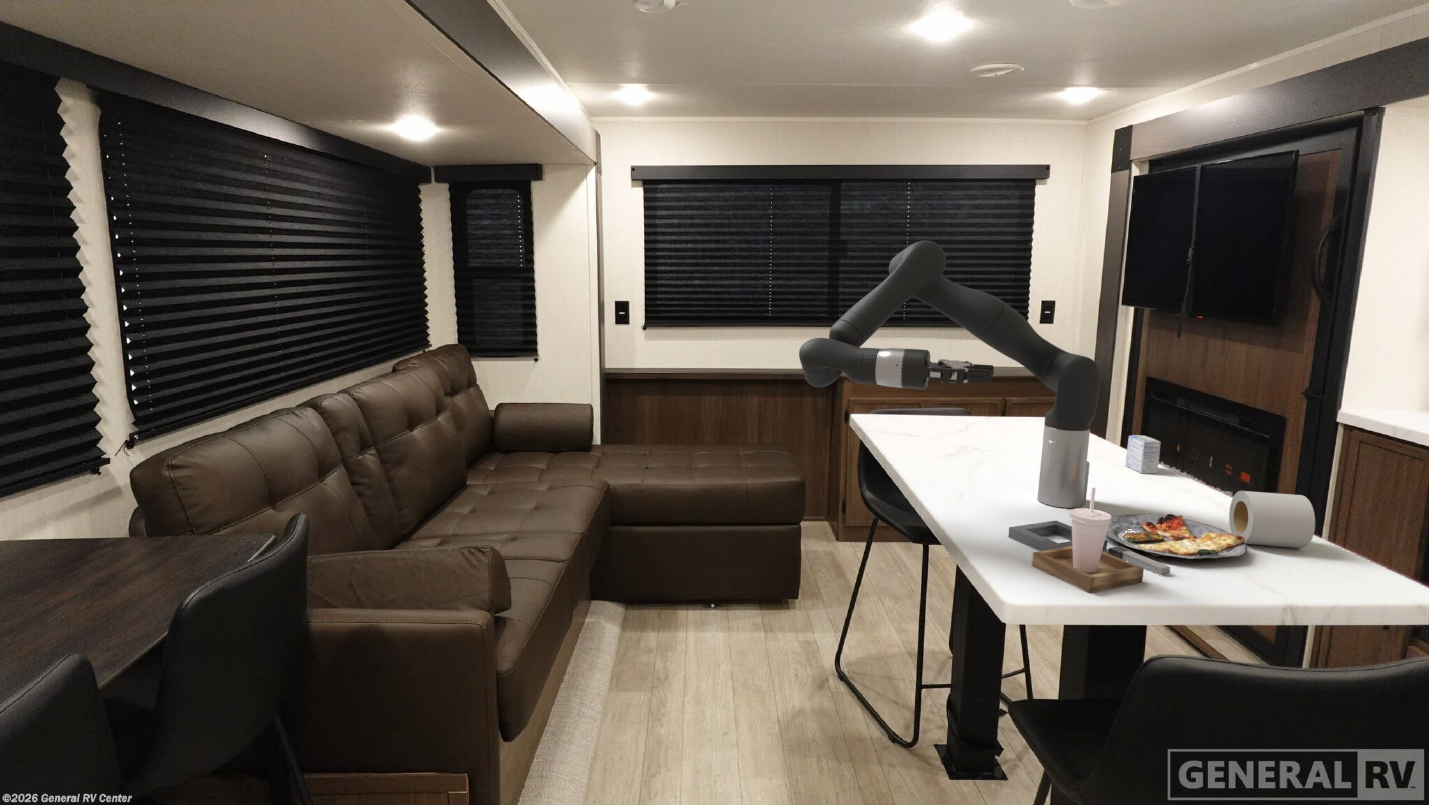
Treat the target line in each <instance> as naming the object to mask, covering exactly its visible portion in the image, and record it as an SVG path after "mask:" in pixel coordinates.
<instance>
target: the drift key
mask: <svg viewBox="0 0 1429 805" xmlns="http://www.w3.org/2000/svg"><path fill="white" fill-rule="evenodd" d="M1107 554H1110V555H1112V556H1115V557H1117V558H1120V559H1122V560H1125V561H1128V562H1130V563H1132V564H1135V565H1137V566H1140V567H1142V568H1144V570H1145V569H1146V571H1148V572H1150V571H1151V572H1150V573H1153V574H1155V573H1156V574H1155V575H1157V574H1159V575H1158V576H1160V575H1164V576H1168V575H1167V574H1169V575H1170V571H1171V566H1169V565H1167V564H1164V563H1161V562H1159V561H1156V560H1154V559H1151V558H1149V557H1148V556H1147V557H1146V556H1144V555H1141V554H1139V553H1137V552H1135V551H1132V549H1129V548H1126V547H1124V546H1121V545H1120V546H1119V545H1118V546H1112V547H1108V553H1107Z"/></svg>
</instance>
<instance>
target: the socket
mask: <svg viewBox="0 0 1429 805" xmlns="http://www.w3.org/2000/svg"><path fill="white" fill-rule="evenodd" d="M1053 535H1054V536H1055V535H1056V536H1059V537H1061V538H1064V539H1066V540H1068V541H1062V542H1056V541H1054V540H1052V539H1049V538H1046V536H1047V537H1049V536H1053ZM1007 537H1008V538H1010V539H1012V540H1014V541H1016V542H1019V543H1021V544H1023V545H1025V546H1027V547H1030V548H1031V549H1032V548H1033V549H1034V550H1037V551H1044V550H1051V549H1057V548H1063V547H1069V546H1072V525H1068V524H1066V523H1064V522H1061V521H1058V520H1051V521H1049V520H1048V521H1043V522H1042V521H1041V522H1036V523H1029V524H1028V523H1027V524H1023V525H1015V526H1009V527H1008V536H1007ZM1107 547H1108V539H1105V541H1104V545H1103V549H1102V551H1103V552H1106V551H1107Z"/></svg>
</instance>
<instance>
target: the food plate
mask: <svg viewBox="0 0 1429 805" xmlns="http://www.w3.org/2000/svg"><path fill="white" fill-rule="evenodd" d="M1110 515H1111V514H1110ZM1111 517H1112V518H1111V524H1109V525H1108V530H1107V534H1106V537H1108V538H1111V539H1112V541H1116V542H1118V543H1120V544H1123V545H1124V546H1127V547H1129V548H1132V549H1136V550H1139V551H1141V552H1144V553H1146V554H1150V555H1152V556H1153V557H1160V556H1163V557H1167V556H1169V557H1170V556H1171V557H1174V558H1181V559H1191V560H1194V559H1197V560H1200V559H1218V558H1219V559H1220V558H1228V557H1240V556H1245V555H1246V554H1247V553H1248V550H1247V549H1248V544H1245V543H1244V541H1245V539H1244V537H1242V536H1237V535H1233V534H1232V533H1231V532H1228V531H1227V530H1224V529H1222V528H1221V527H1217V526H1214V525H1211V524H1207V523H1202V522H1200V521H1195V520H1191V519H1188V518H1183V517H1184V516H1183V515H1182V514H1179V515H1175V514H1173V513H1167V514H1166V515H1153V514H1146V513H1135V514H1133V513H1131V514H1130V513H1128V514H1119V515H1117V514H1116V515H1115V514H1113V515H1111ZM1128 529H1132V530H1128ZM1125 531H1127V533H1126V532H1125ZM1128 531H1135V532H1129V533H1128ZM1138 531H1139V532H1138ZM1118 534H1121V535H1118ZM1122 534H1124V535H1122ZM1135 545H1136V546H1135ZM1137 545H1138V546H1137Z"/></svg>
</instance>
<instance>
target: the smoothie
mask: <svg viewBox="0 0 1429 805" xmlns="http://www.w3.org/2000/svg"><path fill="white" fill-rule="evenodd" d="M1090 492H1091V494H1090V502H1089V504H1090V505H1089V508H1085V507H1083V508H1082V507H1081V508H1080V507H1075V508H1072V509H1071V510H1070V513H1069V516H1068V517H1069V518H1070V519H1071V520H1070V521H1071V526H1072V549H1073V567H1074V568H1075V569H1078V570H1080V571H1082V572H1090V573H1092V572H1096V571H1097V569H1098V565H1099V561H1100V557H1101V553H1102V549H1103V545H1104V541H1105V540H1106V537H1107V535H1106V534H1107V530H1108V525H1109V524H1111V518H1112V517H1111V514H1109V513H1108V512H1106V511H1103V510H1099V509H1094V508H1095V507H1094V506H1095V497H1096V487H1091V491H1090Z"/></svg>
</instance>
